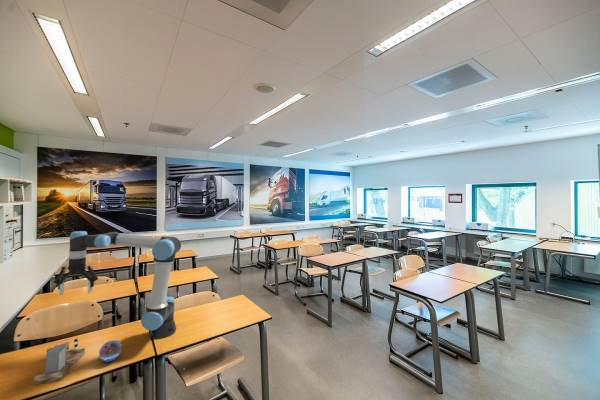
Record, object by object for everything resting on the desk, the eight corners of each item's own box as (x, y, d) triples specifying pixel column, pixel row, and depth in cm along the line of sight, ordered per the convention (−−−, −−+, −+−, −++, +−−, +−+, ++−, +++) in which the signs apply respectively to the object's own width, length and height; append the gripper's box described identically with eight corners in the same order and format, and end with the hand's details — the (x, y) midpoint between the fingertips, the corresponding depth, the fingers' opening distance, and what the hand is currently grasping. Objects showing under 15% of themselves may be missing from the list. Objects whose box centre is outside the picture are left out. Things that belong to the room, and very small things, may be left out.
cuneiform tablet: (77, 351, 141) (48, 362, 130) (74, 350, 143) (45, 361, 132) (77, 338, 142) (48, 348, 131) (74, 337, 144) (45, 347, 133)
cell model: (98, 369, 126) (99, 350, 127) (98, 357, 136) (99, 340, 136) (122, 361, 133) (123, 344, 133) (121, 351, 142) (121, 334, 142)
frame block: (66, 365, 126) (67, 344, 126) (57, 374, 120) (58, 351, 120) (54, 367, 125) (55, 345, 125) (45, 376, 118) (46, 353, 118)
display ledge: (84, 353, 139) (85, 347, 139) (60, 380, 118) (60, 373, 118) (63, 356, 136) (63, 350, 136) (34, 384, 115) (34, 377, 115)
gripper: (105, 255, 152) (104, 289, 152) (55, 257, 145) (53, 293, 144) (99, 258, 145) (98, 294, 145) (46, 259, 137) (44, 297, 137)
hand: (76, 293), depth 144 cm, fingers open, 13 cm apart
